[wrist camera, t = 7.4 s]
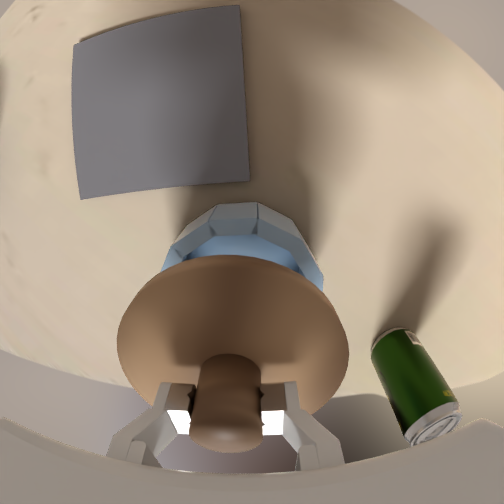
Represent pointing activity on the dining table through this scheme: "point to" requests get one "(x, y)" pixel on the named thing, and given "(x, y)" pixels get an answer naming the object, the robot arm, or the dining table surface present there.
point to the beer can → (414, 387)
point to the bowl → (246, 238)
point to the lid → (232, 342)
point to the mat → (161, 104)
